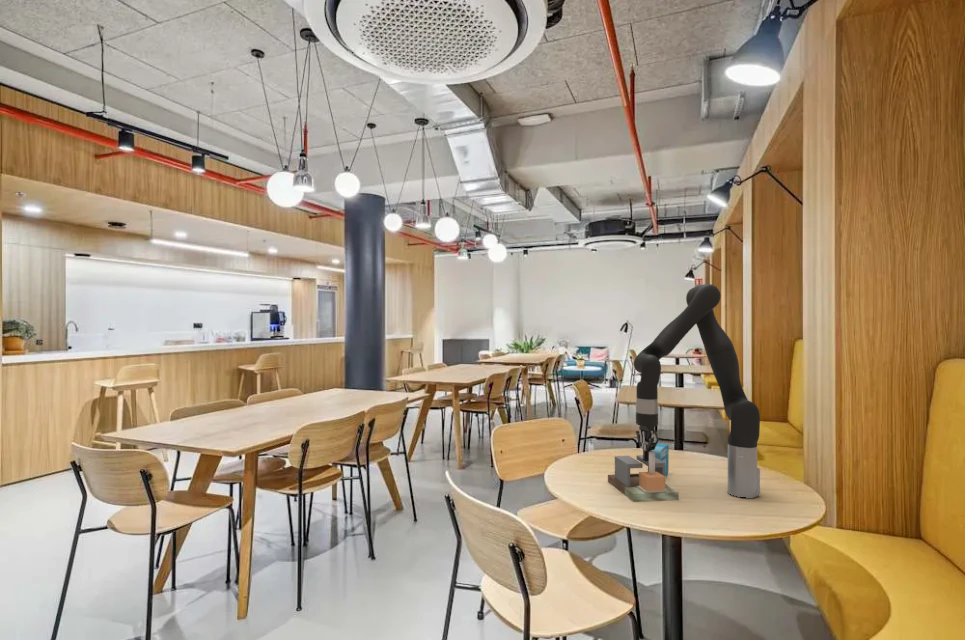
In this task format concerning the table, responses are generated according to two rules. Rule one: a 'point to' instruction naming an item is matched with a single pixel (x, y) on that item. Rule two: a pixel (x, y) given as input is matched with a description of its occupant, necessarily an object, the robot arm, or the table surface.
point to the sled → (651, 478)
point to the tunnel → (628, 462)
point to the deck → (639, 495)
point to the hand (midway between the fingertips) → (646, 460)
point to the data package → (662, 455)
